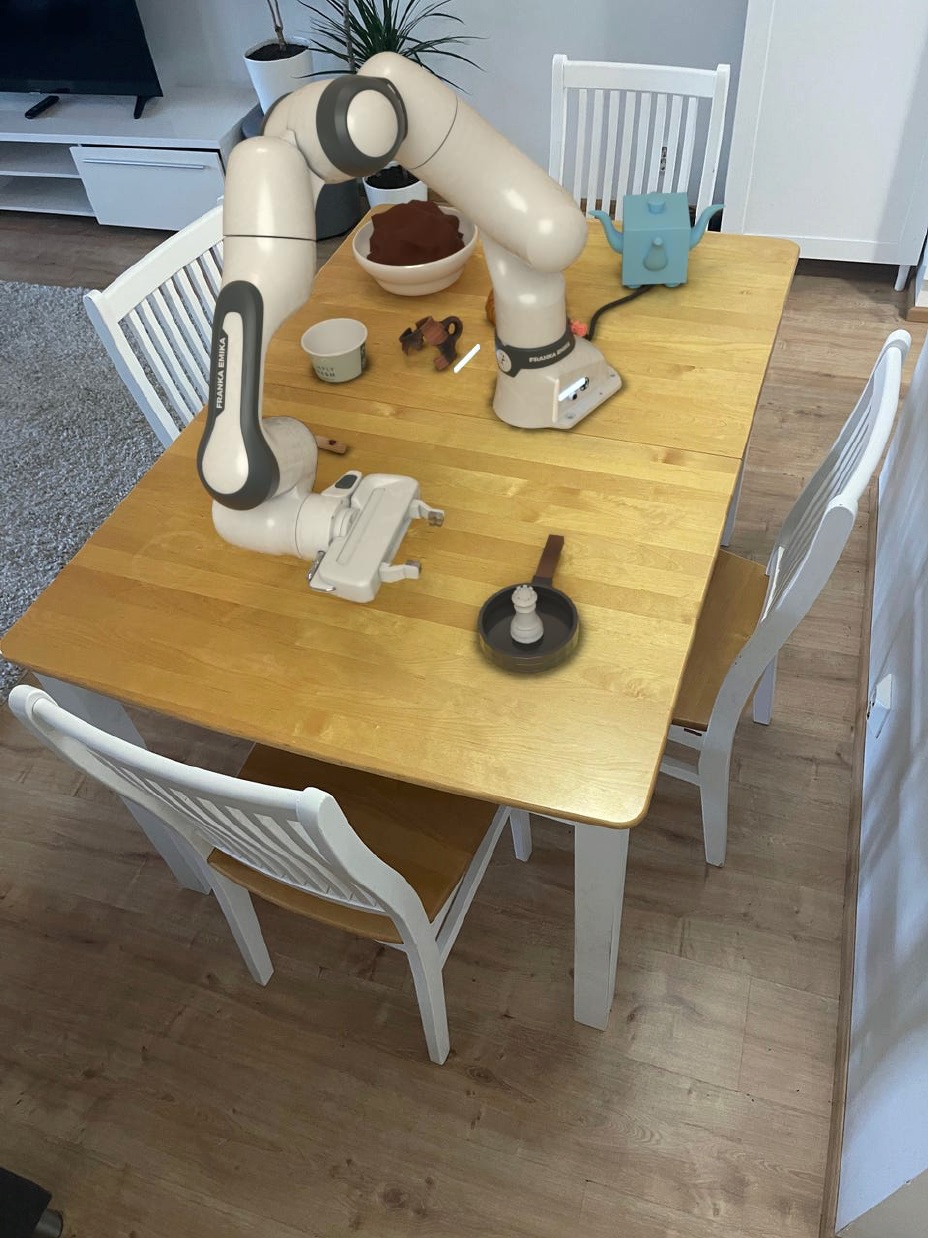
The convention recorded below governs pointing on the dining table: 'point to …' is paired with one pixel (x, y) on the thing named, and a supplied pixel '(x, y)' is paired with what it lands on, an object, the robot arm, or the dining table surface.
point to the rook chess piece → (525, 616)
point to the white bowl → (416, 247)
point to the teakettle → (655, 237)
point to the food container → (336, 348)
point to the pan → (544, 651)
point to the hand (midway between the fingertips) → (431, 544)
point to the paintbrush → (328, 443)
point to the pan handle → (549, 560)
